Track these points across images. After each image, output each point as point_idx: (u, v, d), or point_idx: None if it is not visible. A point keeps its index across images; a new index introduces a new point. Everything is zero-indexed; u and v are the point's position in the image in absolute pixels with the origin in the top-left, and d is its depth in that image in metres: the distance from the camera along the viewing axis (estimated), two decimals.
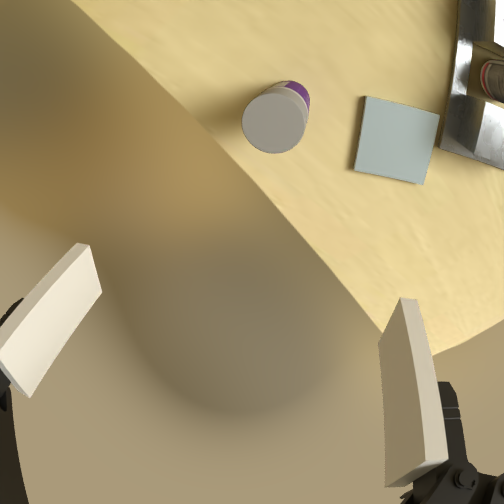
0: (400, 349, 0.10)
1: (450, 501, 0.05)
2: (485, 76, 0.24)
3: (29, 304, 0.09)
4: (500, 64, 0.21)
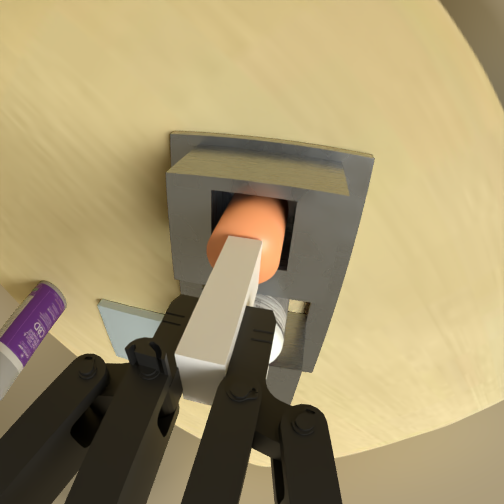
0: None
1: (234, 416, 0.07)
2: None
3: (213, 299, 0.11)
4: None
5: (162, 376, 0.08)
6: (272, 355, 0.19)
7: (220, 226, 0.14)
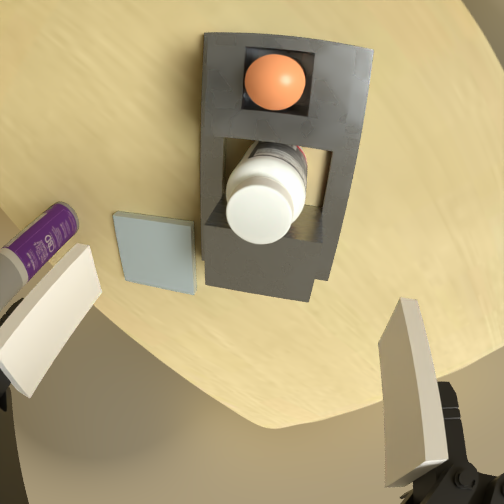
0: (400, 349, 0.10)
1: (450, 501, 0.05)
2: None
3: (29, 304, 0.09)
4: (244, 156, 0.23)
5: None
6: (295, 205, 0.20)
7: (257, 59, 0.16)
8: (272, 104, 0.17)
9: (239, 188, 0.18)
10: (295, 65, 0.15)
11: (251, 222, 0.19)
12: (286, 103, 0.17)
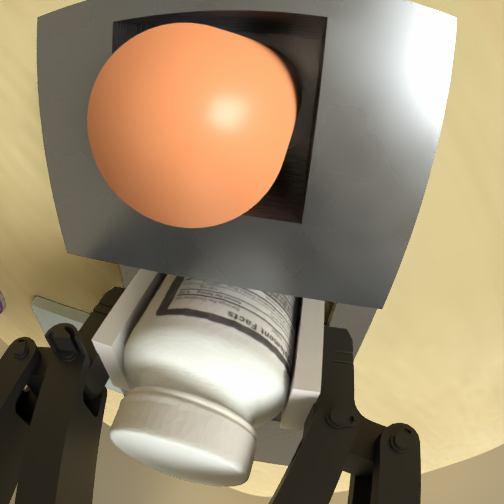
0: (301, 297, 0.12)
1: (330, 442, 0.07)
2: None
3: (136, 291, 0.11)
4: (166, 276, 0.11)
5: (80, 356, 0.08)
6: (265, 416, 0.09)
7: (119, 53, 0.04)
8: (177, 209, 0.05)
9: (121, 421, 0.06)
10: (250, 58, 0.04)
11: (165, 465, 0.07)
12: (221, 207, 0.05)
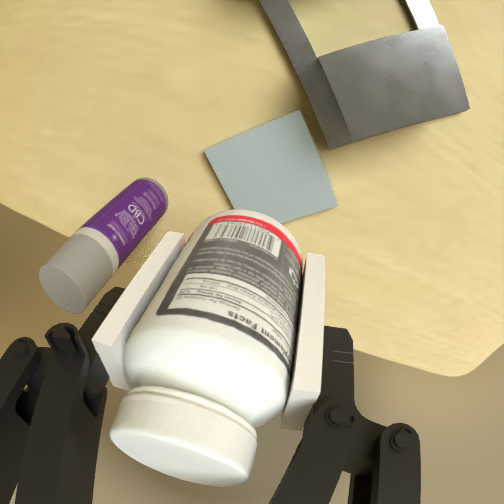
0: (301, 297, 0.12)
1: (329, 442, 0.07)
2: None
3: (136, 291, 0.11)
4: (166, 276, 0.11)
5: (80, 356, 0.08)
6: (266, 416, 0.09)
7: None
8: None
9: (121, 421, 0.06)
10: None
11: (165, 465, 0.07)
12: None
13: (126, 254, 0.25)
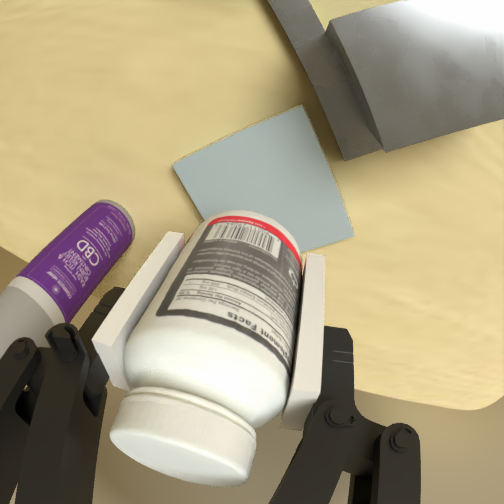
0: (301, 297, 0.12)
1: (329, 442, 0.07)
2: None
3: (136, 291, 0.11)
4: (166, 276, 0.11)
5: (80, 356, 0.08)
6: (265, 416, 0.09)
7: None
8: None
9: (121, 422, 0.06)
10: None
11: (164, 466, 0.07)
12: None
13: (75, 308, 0.18)
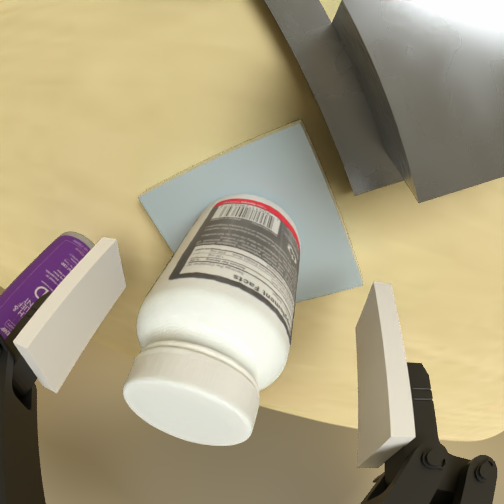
0: (372, 331, 0.11)
1: (420, 482, 0.05)
2: None
3: (59, 297, 0.10)
4: (176, 251, 0.12)
5: (4, 353, 0.08)
6: (267, 375, 0.10)
7: None
8: None
9: (136, 373, 0.08)
10: None
11: (173, 422, 0.08)
12: None
13: None
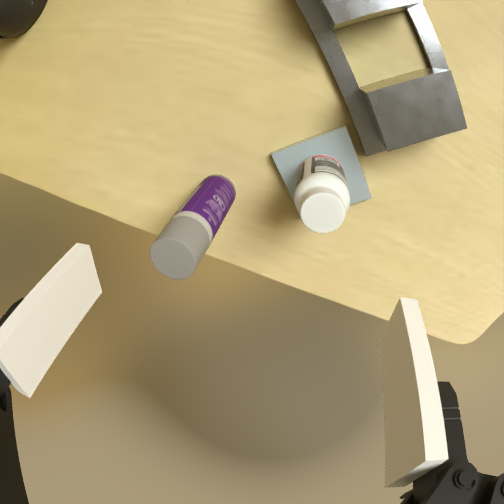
0: (400, 349, 0.10)
1: (450, 501, 0.05)
2: None
3: (29, 304, 0.09)
4: (303, 170, 0.31)
5: None
6: (344, 207, 0.29)
7: None
8: None
9: (310, 194, 0.27)
10: None
11: (317, 218, 0.28)
12: None
13: (215, 233, 0.33)
